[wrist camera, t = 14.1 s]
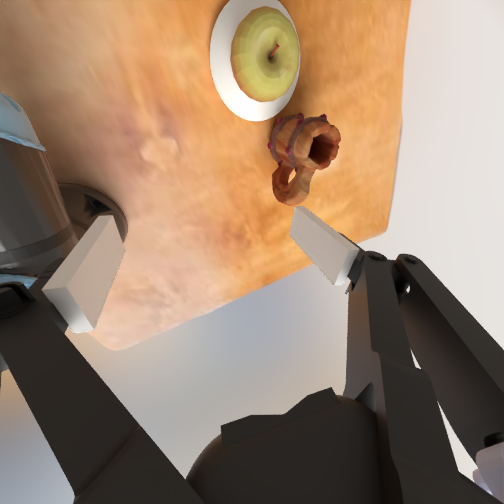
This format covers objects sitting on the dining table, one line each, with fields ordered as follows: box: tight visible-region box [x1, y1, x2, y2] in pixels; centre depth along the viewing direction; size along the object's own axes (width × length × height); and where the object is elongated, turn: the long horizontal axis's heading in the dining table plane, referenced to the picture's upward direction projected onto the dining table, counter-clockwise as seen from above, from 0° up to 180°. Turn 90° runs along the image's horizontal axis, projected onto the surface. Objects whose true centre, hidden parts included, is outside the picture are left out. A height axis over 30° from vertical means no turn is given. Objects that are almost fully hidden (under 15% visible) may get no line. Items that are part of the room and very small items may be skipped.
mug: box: [268, 113, 341, 206], centre depth 35 cm, size 15×8×15 cm, turn 157°
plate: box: [209, 0, 300, 121], centre depth 32 cm, size 15×15×1 cm
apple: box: [230, 6, 300, 102], centre depth 28 cm, size 10×10×8 cm
